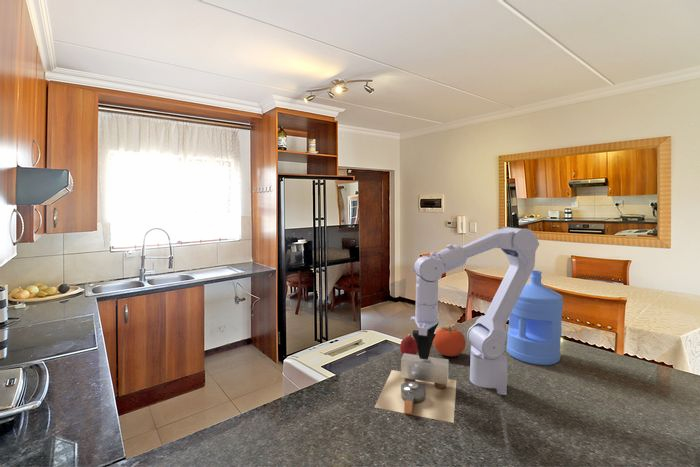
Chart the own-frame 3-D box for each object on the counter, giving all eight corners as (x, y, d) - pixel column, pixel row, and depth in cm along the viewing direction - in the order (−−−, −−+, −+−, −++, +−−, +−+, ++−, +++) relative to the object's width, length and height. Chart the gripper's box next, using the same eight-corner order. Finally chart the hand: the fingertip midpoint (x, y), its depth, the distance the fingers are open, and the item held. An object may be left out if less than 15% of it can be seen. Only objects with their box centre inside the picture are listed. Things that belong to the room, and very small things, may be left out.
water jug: (523, 342, 125) (527, 265, 123) (569, 359, 112) (574, 273, 110) (496, 352, 117) (499, 269, 115) (542, 370, 104) (547, 278, 102)
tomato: (443, 346, 122) (443, 318, 121) (470, 355, 114) (471, 325, 114) (426, 355, 115) (427, 325, 114) (455, 365, 107) (456, 333, 106)
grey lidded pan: (403, 388, 91) (403, 376, 90) (426, 392, 89) (426, 380, 88) (395, 411, 81) (395, 397, 80) (421, 416, 79) (421, 402, 78)
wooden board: (456, 384, 96) (456, 373, 95) (453, 428, 77) (453, 414, 76) (391, 374, 101) (392, 364, 101) (374, 412, 82) (374, 399, 82)
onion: (417, 363, 108) (418, 338, 108) (399, 361, 109) (399, 336, 109) (418, 355, 114) (418, 331, 113) (400, 354, 115) (400, 330, 115)
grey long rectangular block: (448, 377, 93) (448, 359, 93) (447, 384, 89) (447, 365, 89) (403, 370, 97) (403, 353, 97) (400, 377, 93) (401, 359, 93)
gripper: (415, 294, 100) (414, 340, 101) (406, 308, 86) (405, 361, 87) (440, 296, 97) (439, 344, 99) (436, 311, 84) (434, 366, 85)
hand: (425, 352), depth 93 cm, fingers open, 7 cm apart
